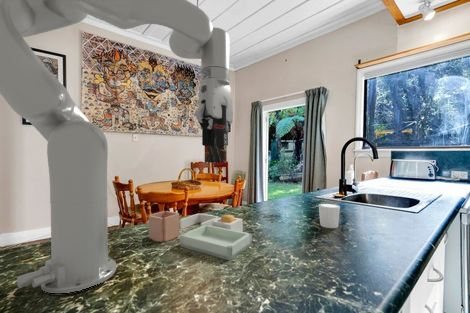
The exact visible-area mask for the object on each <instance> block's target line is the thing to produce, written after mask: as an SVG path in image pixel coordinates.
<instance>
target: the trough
mask: <svg viewBox="0 0 470 313" xmlns="http://www.w3.org/2000/svg"><path fill="white" fill-rule="evenodd" d="M252 245H253V234H252V233H249V232H245V231H243V232H241V231H236V230H231V229H226V228H221V227H216V226H211V225H203V226H201V227H200V226H199V227H197V228H195V229H194V228H193V229H192V230H189V231H187V232H184V233H182V234H179V247H181V248H183V249H184V248H185V249H188V250H192V251H195V252H198V253H201V254H206V255H210V256H212V257H215V258H219V259H222V260H227V261H232V260H233V259H235V258H236V257H237V256H239V255H240V254H241V253H243V252H244V251H246V250H247V249H248V248H249V247H251V246H252Z"/></svg>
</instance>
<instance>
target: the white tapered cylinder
mask: <svg viewBox="0 0 470 313" xmlns="http://www.w3.org/2000/svg"><path fill="white" fill-rule="evenodd" d="M318 212H319V215H318V216H319V222H320V226H321V227H323V228H326V229H337V228H339V220H340V212H341V206H340V205H338V204H335V203H319V204H318Z"/></svg>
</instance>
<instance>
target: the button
mask: <svg viewBox="0 0 470 313" xmlns="http://www.w3.org/2000/svg"><path fill="white" fill-rule="evenodd" d="M220 218H221V222H227V223H231V222H233V221H234V218H235V216H234V215H232V214H222V215H221V216H220Z"/></svg>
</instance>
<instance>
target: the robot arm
mask: <svg viewBox="0 0 470 313" xmlns="http://www.w3.org/2000/svg"><path fill="white" fill-rule="evenodd" d="M88 15H89V16H91V17H93V18H95V19H97V20H100V21H103V22H105V23H107V24H109V25H112V26H113V27H116V28H118V29H121V30H129V29H133V28H136V27H139V26H143V25H158V26H163V27H166V28H169V29H171V30H172V32H171V33H170V37H169V41H168V45H169V48H170V50H171V52H172V53H173V54H174V55H176V56H177V57H179V58H182V59H187V60H188V59H189V60H200V62H201V63H200V65H201V66H200V75H201V76H200V77H201V79H200V84H199V89H198V90H199V91H198V102H197V103H198V104H197V105H198V107H197V109H196V110H195V112H194V116H195V118H196V119H197V121H198V124H199V126H200V130H201V132H202V133H201V140H202V141H201V144H202V146H204V147H205V146H208V145H213V130H212V129H211V128H212V125H213V121H214V118H216V119H220V118H222V109H221V108H222V107H221V105H225V106H226V120H227V146H228V145H229V132H230V128H231V125H232V123H233V119H234V108H233V97H232V90H231V86H230V37H229V36H230V35H229V33H228V32H227V31H226V30H224V29H222V28H220V27H213V24H212V21H211V19H210V17H209V16H208V15H207V14H206V12H205V11H204V10H202V9H201V8H200V7H199V6H197V5H196V4H194V3H192V2H190V1H189V0H0V96H2V98H4V99H3V100H5V101H6V103H7V104H8V105H9V106H10V108H11V109H12V110H13V111H14V112H15V113H16V114H17V115H19V116H20V117H21V118H22V119H24V120H26V121H28V122H29V123H30V124H31V125H32V126H33V127H34V129H36V131H38V133H39V134H40V135H41V136H42V137H43V139H45V140H46V141H47V146H46V148H47V149H46V153H47V155H46V156H47V163H48V174H49V204H50V243H51V245H50V250H51V251H50V252H51V253H50V256H51V258H50V259H47V260H45V262H44V266H41V267H39V270H36V271H33V272H27V273H25V274H22V275H19V276H17V278H16V284H17V288H18V289H21V288H23V287H26V286H29V285H31V286H32V288H36V287H39V286H40V289H41V290H43V291H42V292H44V291H45V292H44V293H46V292H49V293H68V292H74V291H78V290H82V289H86V288H89V287H91V286H94V285H96V286H98V285H101V284H102V283H104V282H106V281H107V280H109V279H110V278H111V277H112V276H114V274H115V272H116V271H117V262H116V261H115V260H114V259H113V258H110V257H109V229H108V228H109V227H108V226H109V224H108V222H109V221H108V220H109V219H108V218H109V217H108V216H109V215H108V210H109V209H108V158H109V157H108V156H109V155H108V154H109V152H108V151H109V149H108V140H107V137H106V135H105V133H104V131H102V129H101V128H100V127H99V126H98V125H97V124H95V123H92V122H91V121H90V120H89V118H88V117H87V116H86V114H85V113H84V112H83V111H82V110H81V109H80V107H79V106H78V105H77V104H76V102H75V101H74V99H73V98H72V97H71V95H70V93H69V92H68V90H67V88H66V87H65V86H64V85H63V84H62V82H60V80H58V78H56V76H54V74H53V73H52V72H51V71H50V70H49V68H47V67H46V65H45V64H44V63H43V62H42V61H41V59H40V58H39V57H38V55H36V53H35V52H34V50H33V49H32V48H31V46H30V44H28V42H26V40H25V39H24V38H26V37H27V38H28V37H31V36H36V35H40V34H44V33H48V32H51V31H55V30H59V29H60V30H61V29H63V28H66V27H69V26H73V25H76V24H78V23H81V22H82V21H84V20H85V19H86V18H87V17H88ZM207 116H210V117H207ZM207 121H208V122H207ZM100 283H101V284H100ZM97 284H98V285H97ZM94 287H95V286H94ZM91 288H92V287H91ZM89 289H90V288H89ZM86 290H87V289H86ZM82 291H83V290H82ZM49 293H48V294H49ZM74 293H75V292H74Z"/></svg>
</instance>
